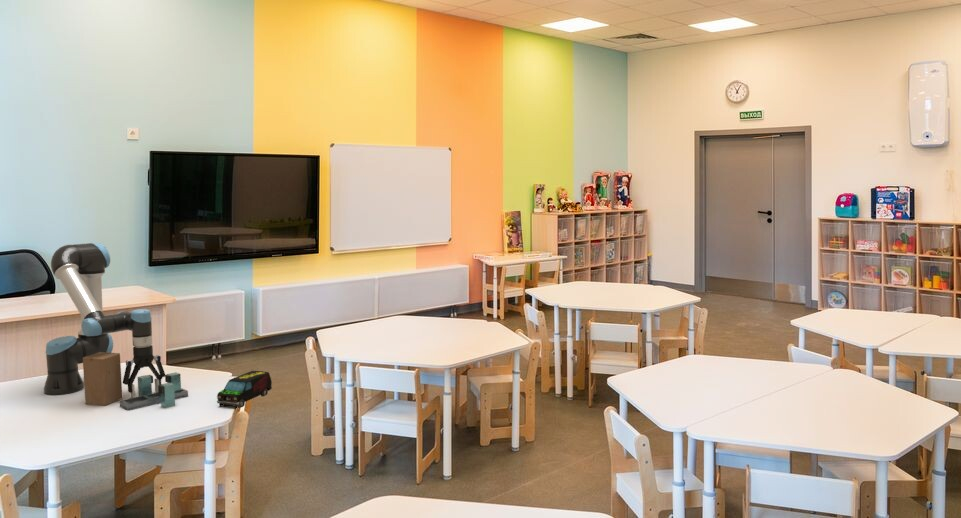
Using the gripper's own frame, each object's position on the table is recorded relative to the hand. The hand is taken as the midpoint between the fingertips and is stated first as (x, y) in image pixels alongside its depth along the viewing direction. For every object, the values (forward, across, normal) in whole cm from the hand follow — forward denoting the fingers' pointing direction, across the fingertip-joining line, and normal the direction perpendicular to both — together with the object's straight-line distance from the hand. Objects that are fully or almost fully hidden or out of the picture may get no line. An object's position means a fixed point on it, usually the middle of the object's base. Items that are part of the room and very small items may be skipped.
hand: (145, 396), depth 295 cm
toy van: (+1, +26, -36) cm, 44 cm away
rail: (0, 0, -9) cm, 9 cm away
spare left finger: (0, +1, -19) cm, 19 cm away
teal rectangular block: (0, 0, 0) cm, 0 cm away
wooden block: (0, -14, +7) cm, 16 cm away
